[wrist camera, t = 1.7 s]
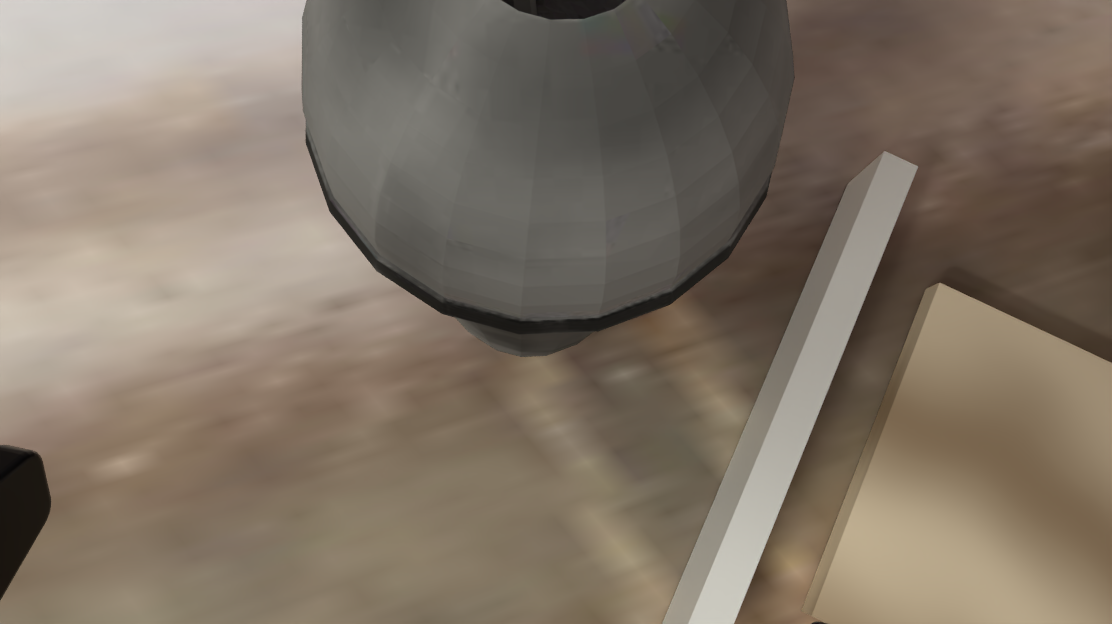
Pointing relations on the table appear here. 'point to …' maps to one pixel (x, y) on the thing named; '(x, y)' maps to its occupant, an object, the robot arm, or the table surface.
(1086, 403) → the coaster
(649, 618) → the table surface
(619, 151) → the beverage cup
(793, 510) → the table surface
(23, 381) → the table surface
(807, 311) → the divider wall
